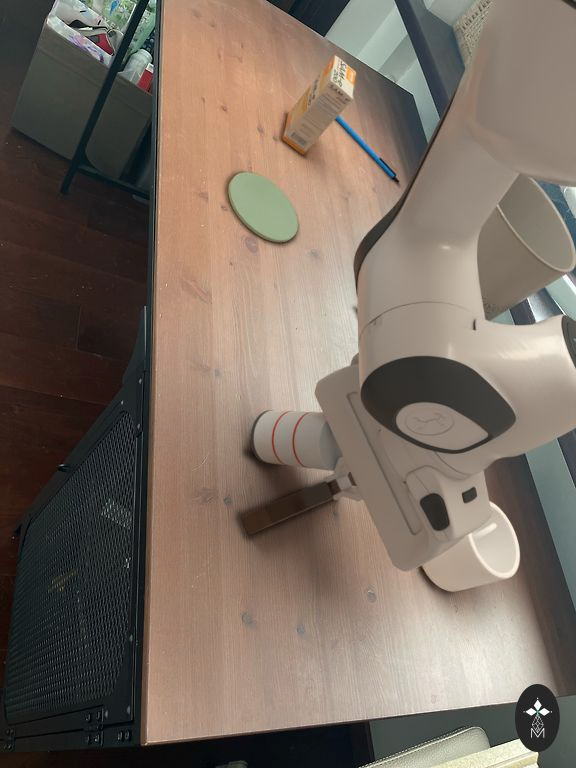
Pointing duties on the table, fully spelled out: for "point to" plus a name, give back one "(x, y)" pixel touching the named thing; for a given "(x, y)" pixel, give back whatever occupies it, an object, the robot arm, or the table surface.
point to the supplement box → (320, 105)
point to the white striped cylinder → (295, 439)
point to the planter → (521, 247)
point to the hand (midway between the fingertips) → (333, 487)
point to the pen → (368, 149)
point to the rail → (288, 506)
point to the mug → (478, 556)
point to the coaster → (263, 207)
